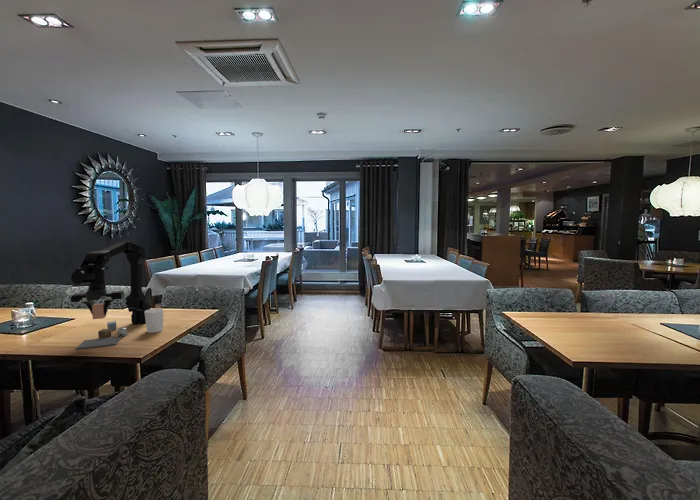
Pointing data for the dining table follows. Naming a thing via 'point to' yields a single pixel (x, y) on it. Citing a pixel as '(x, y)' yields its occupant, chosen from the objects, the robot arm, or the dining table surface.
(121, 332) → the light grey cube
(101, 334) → the walnut block
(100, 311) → the terracotta block
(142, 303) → the robot arm
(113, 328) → the slate block
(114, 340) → the charcoal mat
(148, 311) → the white cup
